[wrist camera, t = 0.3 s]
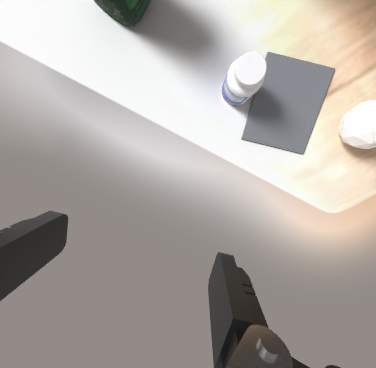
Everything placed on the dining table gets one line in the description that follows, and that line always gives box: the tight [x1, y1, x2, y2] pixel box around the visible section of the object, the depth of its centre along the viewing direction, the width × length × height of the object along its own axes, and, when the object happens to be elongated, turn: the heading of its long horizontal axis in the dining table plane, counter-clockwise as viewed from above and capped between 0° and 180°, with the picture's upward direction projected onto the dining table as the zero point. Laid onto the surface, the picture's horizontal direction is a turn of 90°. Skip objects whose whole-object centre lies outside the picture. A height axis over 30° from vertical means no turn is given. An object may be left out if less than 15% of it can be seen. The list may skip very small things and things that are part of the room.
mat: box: [242, 52, 335, 154], centre depth 33 cm, size 15×12×1 cm
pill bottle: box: [222, 51, 267, 106], centre depth 28 cm, size 6×5×10 cm
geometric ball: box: [338, 99, 376, 149], centre depth 29 cm, size 8×8×8 cm
